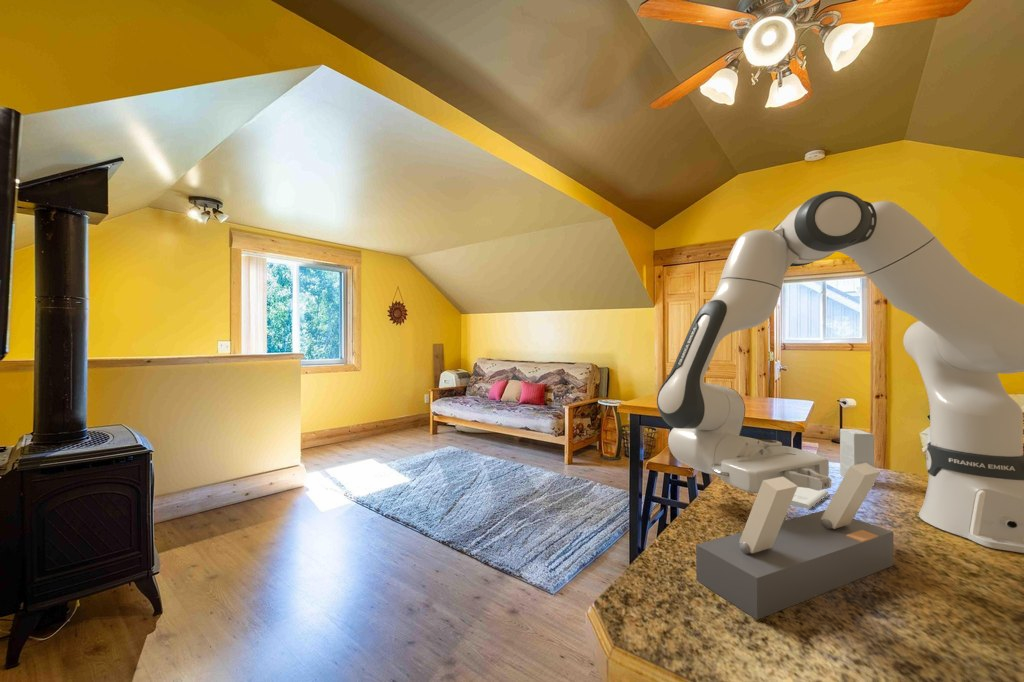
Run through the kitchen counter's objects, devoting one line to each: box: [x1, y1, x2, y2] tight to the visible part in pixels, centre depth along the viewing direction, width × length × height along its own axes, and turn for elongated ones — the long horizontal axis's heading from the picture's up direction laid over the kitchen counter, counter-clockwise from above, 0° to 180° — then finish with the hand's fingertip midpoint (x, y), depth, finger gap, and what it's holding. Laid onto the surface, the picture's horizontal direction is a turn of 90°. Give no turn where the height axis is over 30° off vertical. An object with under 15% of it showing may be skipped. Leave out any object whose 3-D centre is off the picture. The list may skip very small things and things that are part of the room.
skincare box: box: [839, 428, 875, 478], centre depth 99 cm, size 6×4×12 cm
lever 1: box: [739, 477, 798, 554], centre depth 55 cm, size 2×4×11 cm, turn 114°
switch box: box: [695, 509, 894, 620], centre depth 60 cm, size 9×30×5 cm, turn 114°
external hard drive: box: [790, 487, 829, 510], centre depth 89 cm, size 2×8×12 cm
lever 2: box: [821, 463, 882, 529], centre depth 62 cm, size 2×4×11 cm, turn 114°
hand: (825, 484), depth 64 cm, fingers closed
